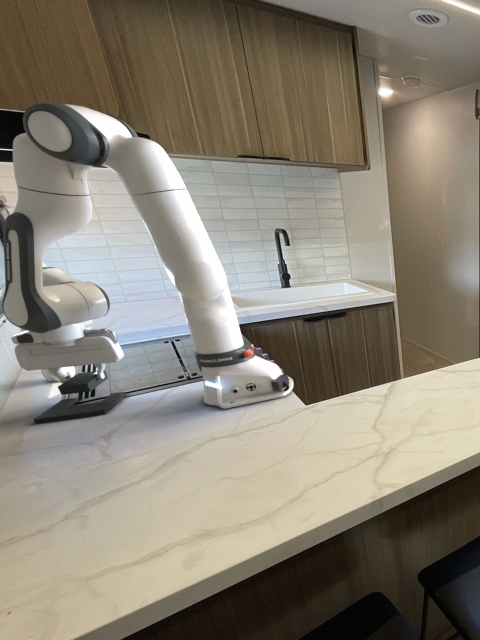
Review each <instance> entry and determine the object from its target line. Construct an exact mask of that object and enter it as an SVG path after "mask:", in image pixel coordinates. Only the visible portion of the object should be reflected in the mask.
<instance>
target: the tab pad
mask: <svg viewBox="0 0 480 640" xmlns="http://www.w3.org/2000/svg"><path fill="white" fill-rule="evenodd" d="M97 371H98V370H97ZM97 371H87V372H77V374H75V375H74V377H72V378H70V379H69V380H67V381H66V382H64V383H60V384H59V385H58V386H57V388H58V391H59V393H60V395H61V396H63V395H64V396H65V395H72V394H82V393H90V392H92V391H94V390H95V389H96V388H98V387H99V386H100V385H101V384H102V383H104V382H105V381H107V380H108V379H109V376H108V373H107V371H106V370H104V371H103V373H104V375H105V378H103V379H98V380H96V379H95V377H94V375H93V374H94V373H96V372H97Z"/></svg>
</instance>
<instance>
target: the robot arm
mask: <svg viewBox="0 0 480 640" xmlns="http://www.w3.org/2000/svg"><path fill="white" fill-rule="evenodd" d="M22 125H23V129H24V131H25V132H23V133H20V134H18V135H16V136H15V137H14V139H13V141H12V165H13V166H12V167H13V174H14V179H15V183H16V188H17V201H16V204H15V208H14V209H13V211H12V213H10V214H9V215H7V216H6V217H5V220H4V223H3V261H4V280H5V281H4V283H5V284H4V291H3V297H2V302H1V309H2V312H3V315H4V316H5V319H6V320H7V321H8V322H9V323H10V324H12V325H13V326H15V327H17V328H21V329H24V330H27V331H25V332H22V331H21V332H19V333H17V334H15V335H13V336H11V337H10V338H11V339H10V340H11V342H12V343H13V344H14V345H15V347H14V354H15V358H16V360H17V363H18V365H19V366H20V368H21V369H22V370H24V371H28V372H30V371H41V369H48V370H49V372H50V373H51V374H52V375H54V376H55V377H57V378H58V379H59V381H58V382H59V383H60V384H63V383H64V382H66V381H67V380H69V379H70V376H69V375H64V374H63V373H62V372H61V371H59V370H60V369H61V368H62V367H72V366H74V367H81V366H82V367H83V366H92V365H94V367H95V369H96V368H97V372H96V371H95V372H96V373H94V374H93V375H94V377H95V379H96V380H98V379H103V378H105V375H104V373H103V371H105V368H106V366H107V364H112V363H118V362H120V361H122V360H123V358H124V357H125V354H124V351H123V348H122V347H121V345H120V344H119V342H118V337H117V334H116V333H115V332H114V331H112V330H111V329H108V328H97V329H96V328H94V329H93V328H90V329H87V327H86V325H85V322H88V321H92V320H97V319H100V318H102V317H105V316H107V314H108V313H109V311H110V308H111V301H110V298H109V295H108V293H107V292H106V291H105V290H104V289H103V288H102V287H100V286H99V285H97V283H94V282H91V281H84V280H80V279H77V278H74V277H72V276H69V275H67V274H65V273H64V272H63V271H62V270H61V269H60V268H58V267H53V266H43V256H44V253H45V251H46V249H47V248H48V247H49V246H51V245H53V244H54V243H55V242H57V241H58V240H60V239H63V238H64V237H67V236H69V235H73V234H75V233H77V232H79V231H81V230H82V229H84V228H85V227H86V226H87V225H89V223H90V222H91V220H92V217H93V203H92V198H91V193H90V187H89V184H88V172H89V171H90V169H92V168H93V167H96V168H108V169H110V170H111V171H113V172H114V173H115V174H116V175H117V176H118V178H120V181H121V182H122V184H123V186H124V188H125V189H126V192H127V194H128V196H129V198H130V200H131V202H132V203H133V205H134V207H135V210H136V212H137V213H138V215H139V217H140V219H141V221H142V223H143V225H144V227H145V229H146V231H147V233H148V234H149V236H150V239H151V241H152V243H153V246H154V248H155V250H156V252H157V254H158V256H159V259H160V261H161V262H162V264H163V267H164V269H165V272H166V273H167V275H168V278H169V279H170V282H171V285H173V287H174V288H175V290H176V291H177V292H178V294H179V298H180V301H181V305H182V309H183V312H184V317H185V321H186V325H187V328H188V330H189V331H188V332H189V335H190V338H191V340H192V344H193V347H194V349H195V350H194V357H195V362H196V365H197V368H198V369H199V372H201V377H202V382H203V394H204V395H203V402H204V403H205V404H207V405H209V406H214V407H219V408H221V409H223V410H225V409H226V410H227V409H230V408H234V407H235V408H236V407H240V406H245V405H249V404H255V403H259V402H264V401H268V400H274V399H278V398H279V399H280V398H282V397H285V396H287V395H289V394H290V393H291V392H292V391H293V389H294V380H293V378H292V377H290V376H288V374H283V372H282V370H281V368H280V366H278V364H276V363H275V362H272V361H269V360H267V359H265V358H262V357H260V356H258V355H256V352H255V347H254V344H253V343H252V344H251V345H250V344H247V343H245V342H244V339H243V335H242V332H241V328H240V323H239V320H238V316H237V313H236V309H235V305H234V303H233V299H232V295H231V291H230V288H229V284H228V277H227V274H226V271H225V269H224V267H223V265H222V263H221V261H220V259H219V256H218V254H217V252H216V250H215V248H214V244H213V243H212V241H211V239H210V236H209V233H208V232H207V229H206V227H205V225H204V223H203V221H202V219H201V216H200V214H199V212H198V210H197V208H196V205H195V203H194V202H193V199H192V196H191V194H190V193H189V191H188V188H187V186H186V184H185V181H184V180H183V179H182V178H183V177H182V176H181V174H180V172H179V170H178V169H177V167H176V166H175V164H174V162H173V161H172V159H171V158H170V156H169V155H168V154H167V152H166V150H165V149H164V148H163V147H162V146H161V145H160V144H159V143H158V142H156V141H154V140H151V139H149V138H145V137H139V136H138V134H137V132H136V131H135V130H134V129H133V127H131V125H129V124H128V123H127V122H125V120H122V119H121V118H119V117H117V116H116V115H112V114H111V113H107V112H101V111H98V110H95V109H91V108H89V107H86V106H83V105H77V104H69V103H60V102H57V101H43V102H42V101H41V102H37V103H34V104H32V105H29V106H28V107H27V108H26V109H25V111H24V113H23V116H22ZM21 329H20V330H21Z"/></svg>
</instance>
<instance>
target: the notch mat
mask: <svg viewBox="0 0 480 640" xmlns="http://www.w3.org/2000/svg"><path fill="white" fill-rule="evenodd" d="M125 397H127V392H126V391H119V392H112V393H110V394H108V396H107V397H105V398H104V399H103V400H102V401H99V402H92V403H84V404H77V403H78V402H79V401H78V398H77V397H73V398H72V397H71V398H63V399H61V400H59V401H58V402H56V403H55V404H53V405H51V406H50V407H49V408H48V409H46V410H44V412H41V413H40V414H39V415H38V416H36V417H35V418H34V419H33V422H34V423H35V424H42V423H49V422H56V421H64V420H71V419H78V418H85V417H92V416H100V415H106V414H107V413H109V412H110V411H111V410H112V409H113V408H114V407H115V406H116V405H118V404H119V403H120V402H121V401H122V400H123V399H125ZM76 404H77V405H76Z"/></svg>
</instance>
